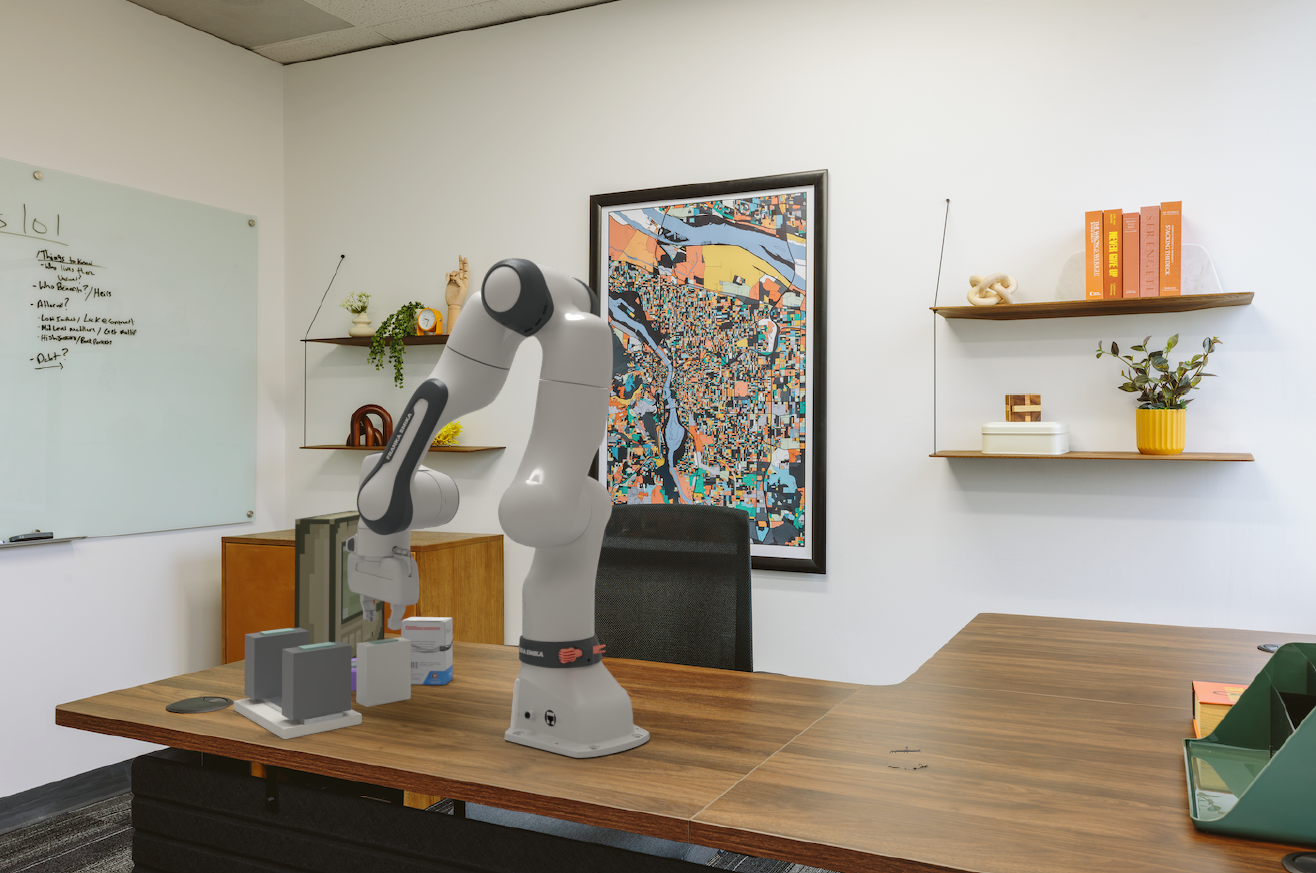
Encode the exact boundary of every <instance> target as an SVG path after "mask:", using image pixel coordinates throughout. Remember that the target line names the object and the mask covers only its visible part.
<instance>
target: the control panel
mask: <svg viewBox="0 0 1316 873" xmlns="http://www.w3.org/2000/svg"><path fill="white" fill-rule="evenodd" d="M359 519H360V515H359V512H358V510H347V511H340V512H334V513H327V514H321V515H314V516H308V517H301V518H296V519H294V522H295V523H294V619H293V620H294V627H293V628H302V629H305V630H308V631H310V645H311V644H319V643H326V642H338V641H340V642H343V643H346V644H349V645H352V658H351V659H353V658H357V643H363V642H369V641H376V640H383V639H385V603H386V602H385V601H381V600H378V599H374V600H373V603H374V610H376V620H375V621H365V620H363V609H362V605H361V602H360V594H358V593H354V592H351V591H350V588H349V585H348V574H347V561H348V555H349V553H350V552H348V551H347V550H346V541H347V539H349V538H351V537H352V536H354V535H355V534H356V533H357V528H358V522H359Z"/></svg>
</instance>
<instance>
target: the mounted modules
mask: <svg viewBox="0 0 1316 873" xmlns="http://www.w3.org/2000/svg"><path fill="white" fill-rule="evenodd" d="M351 658H352V645H349V644H346V643H343V642H340V641H338V642H326V643H319V644H311V645H310V631H308V630H305V629H302V628H294V627H292V628H291V627H289V628H288V627H287V628H279V629H271V630H265V631H264V630H262V631H259V632H251V633H245V634H244V696H246V697H247V698H251V699H253V700H257V699H263V698H269V697H275V696H281V695H282V715H283V716H285V717H286V718H288V719H290V720H292V721H296V720H301V719H307V718H312V717H317V716H322V715H328V714H333V713H338V712H343V711H349V710H351V709H352V691H351Z"/></svg>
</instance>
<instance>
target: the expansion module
mask: <svg viewBox="0 0 1316 873" xmlns="http://www.w3.org/2000/svg"><path fill="white" fill-rule="evenodd" d="M355 692H356V695H355V697H356V698H355V702H356V703H357V704H359V705H362V706H364V707H366V708H370V707H374V706H378V705H384V704H390V703H394V702H396V703H397V702H399V701H404V700H406V701H407V700H411V697H412V694H411V693H412V684H411V640H408V639H404V638H401V636H399V637H392V638H384V639H383V640H376V641H369V642H363V643H357V674H356V691H355Z"/></svg>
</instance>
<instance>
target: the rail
mask: <svg viewBox="0 0 1316 873" xmlns="http://www.w3.org/2000/svg"><path fill="white" fill-rule="evenodd" d="M257 700H258V701H260V702H262V703H264V704H266V705H268V706H269V707H271V708H273V709H275V710H277V711H279V712H281V713H282V695H281V696H275V697H269V698H263V699H257ZM339 718H343V712H338V713H333V714H328V715H322V716H317V717H312V718H307V719H301V720H296V721H297V722H299V723H301V724H303V725H308V724H313V723H318V722H324V721H329V720H334V719H339Z"/></svg>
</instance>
